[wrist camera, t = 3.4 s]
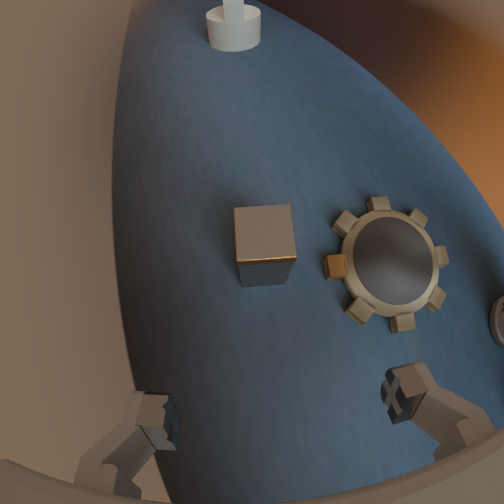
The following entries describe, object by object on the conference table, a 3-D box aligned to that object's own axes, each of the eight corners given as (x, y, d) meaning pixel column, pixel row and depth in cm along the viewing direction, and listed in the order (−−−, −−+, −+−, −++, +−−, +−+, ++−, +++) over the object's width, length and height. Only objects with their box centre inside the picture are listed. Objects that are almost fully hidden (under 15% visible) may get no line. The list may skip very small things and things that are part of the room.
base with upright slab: (209, 32, 44) (203, -21, 32) (257, 28, 44) (257, -24, 33) (208, 54, 41) (201, -7, 29) (263, 50, 41) (264, -11, 30)
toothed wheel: (452, 320, 26) (461, 317, 24) (334, 343, 26) (339, 342, 24) (424, 202, 31) (431, 195, 29) (314, 205, 30) (317, 197, 29)
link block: (285, 284, 28) (297, 256, 20) (241, 287, 28) (236, 261, 20) (281, 243, 29) (289, 203, 22) (238, 246, 29) (233, 207, 22)
